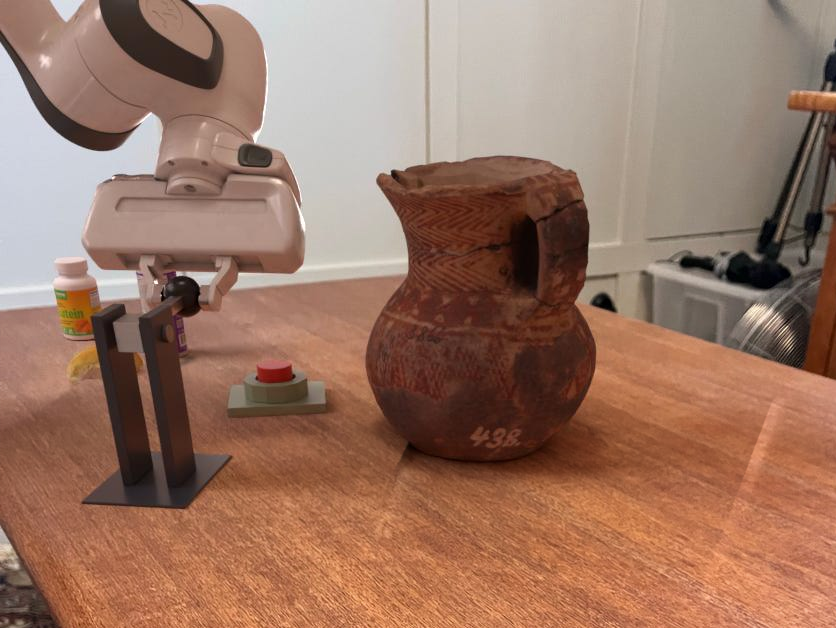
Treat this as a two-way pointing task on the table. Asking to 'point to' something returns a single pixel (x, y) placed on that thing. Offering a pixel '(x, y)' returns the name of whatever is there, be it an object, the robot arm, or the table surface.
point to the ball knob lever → (176, 293)
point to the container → (177, 320)
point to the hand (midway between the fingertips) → (183, 307)
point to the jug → (485, 308)
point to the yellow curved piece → (89, 366)
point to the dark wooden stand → (139, 466)
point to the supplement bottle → (76, 297)
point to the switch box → (276, 396)
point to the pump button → (274, 371)
